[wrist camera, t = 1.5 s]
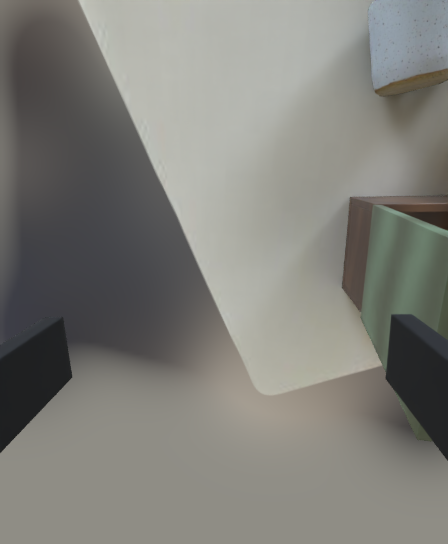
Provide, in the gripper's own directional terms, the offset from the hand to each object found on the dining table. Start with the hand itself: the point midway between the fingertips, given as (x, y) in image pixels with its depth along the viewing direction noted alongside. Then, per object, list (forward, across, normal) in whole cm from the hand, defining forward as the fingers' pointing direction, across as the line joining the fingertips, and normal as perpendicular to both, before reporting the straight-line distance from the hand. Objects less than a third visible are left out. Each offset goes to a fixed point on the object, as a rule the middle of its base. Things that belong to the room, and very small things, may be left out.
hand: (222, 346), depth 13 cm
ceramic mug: (+28, +19, +20) cm, 39 cm away
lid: (+12, +12, -2) cm, 18 cm away
